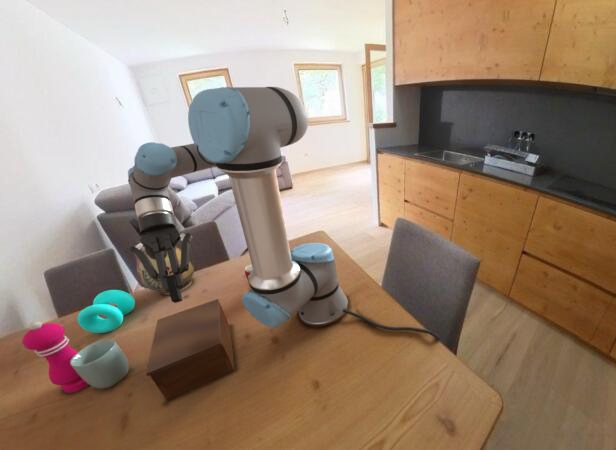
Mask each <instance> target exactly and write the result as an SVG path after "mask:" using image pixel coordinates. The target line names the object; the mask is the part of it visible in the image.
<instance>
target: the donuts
mask: <svg viewBox="0 0 616 450" xmlns="http://www.w3.org/2000/svg"><path fill="white" fill-rule="evenodd" d="M111 304H114V305H111ZM115 305H116V306H115ZM135 306H136V300H135V298H134V297H133V295H131V294H130V293H129V292H127V291H124V290H122V289H121V290H120V289H108V290H105V291H102V292H100V293H98V294H97V295H96V296H95V298H94V299H93V301H92V304H91V305H89V306H87V307H84V308H83V309H82V310H81V311H80V312H79V313H78V315H77V323H78V325H79V326H80V327H81V328H82V329H83V330H85V331H88V332H91V333H94V334H95V333H96V334H105V333H110V332H112V331H115V330H117V329H118V328H119V327H120V326H121V325H122V323H123V321H124V316H126V315H128V314H129V313H131V312H132V311H133V310H134V308H135ZM100 316H104V317H106V318H103V317H100Z"/></svg>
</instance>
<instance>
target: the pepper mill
mask: <svg viewBox="0 0 616 450" xmlns="http://www.w3.org/2000/svg"><path fill="white" fill-rule="evenodd" d="M28 329H29V330H28V331H27V332H26V333H25V334H24V335H23V337H22V345H23V346H24V348H25V349H27V350H31V351H34V353H35V354H36V355H37V357H42V358H44V359H45V360H46V361H47V363H48V378H49V380H50V382H51V383H52V384H53V385H56V386H60V389H62V390H63V391H64V392H65V393H67V394H68V393H76V392H79V391H81V390H83V389H84V388H87V387H88V386H90V385H89V384H87V383H86V382H85V381H84V380H83V379H82V378H81V377H80V376H79V375H78V374H77V373H76V371H75V370H74V369H73V368H72V366H71V364H70V362H71V359H72V358H73V357H74V356H75V355H76V354H77V353H78V352H79V351H80V350H79V351H78V350H75V349H74V348H72V346H70V345H69V342H70V339H69V338H68V336H66V335H65V333H66V329H65V328H64V327H63V325H61V324H60V323H57V322H56V323H55V322H47V323H42V322H40V321H33V322H31V323H30V324H29V325H28Z"/></svg>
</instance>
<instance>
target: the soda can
mask: <svg viewBox="0 0 616 450" xmlns="http://www.w3.org/2000/svg"><path fill="white" fill-rule="evenodd" d="M252 270H253V267H252V263H249V264H248V265H246V266H245V267H244V275H245V277H246V279H247V283H248V287H250V284H249V280H248V278H249V275H250V273H251V272H252Z"/></svg>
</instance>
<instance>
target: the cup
mask: <svg viewBox="0 0 616 450" xmlns="http://www.w3.org/2000/svg"><path fill="white" fill-rule="evenodd" d="M70 364H71V366H72V368H73V369H74V370H75V371H76V373H77V374H78V375H79V376H80V377H81V378H82V379H83V380H84V381H85V382H86V383H87V384H89V385H88V386H90V387H92V388H94V389H101V390H102V389H109V388H111V387H113V386H115V385H117V384H118V383H120V382H121V381H122V380H123V379H125V378H126V376H127V374H128V373H129V370H130V363H129V360H128V358H127V356H126V354H125V353H124V351H123V349H122V348H121V347H120V345H119V344H118V343H117V341H115V340H114V339H111V338H109V339H101V340H98V341H97V340H96V341H95V342H92V343H91V344H89V345H87V346H85V347H84V348H82V349H81V350H79V352H78V353H77V354H76V355H75V356H74V357H73V358H72V359H71V362H70Z"/></svg>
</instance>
